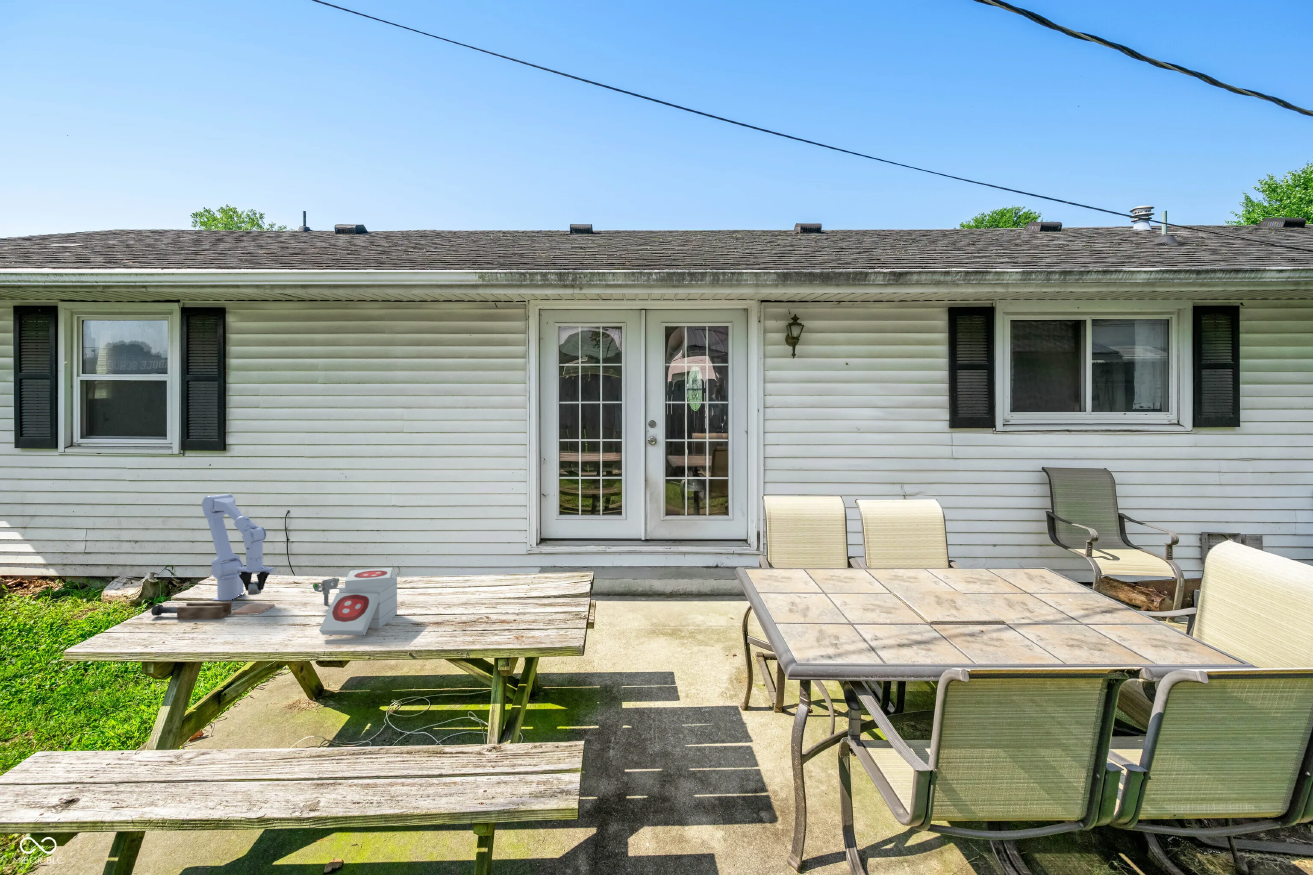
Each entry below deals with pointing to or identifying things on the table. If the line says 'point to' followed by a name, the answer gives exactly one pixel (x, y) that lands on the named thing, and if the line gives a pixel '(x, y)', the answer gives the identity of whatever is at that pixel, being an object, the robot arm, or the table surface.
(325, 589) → the mechanical component
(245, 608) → the terracotta tile
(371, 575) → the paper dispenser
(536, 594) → the table surface
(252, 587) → the block
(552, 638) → the table surface
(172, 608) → the shaft
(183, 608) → the shaft housing
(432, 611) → the table surface
